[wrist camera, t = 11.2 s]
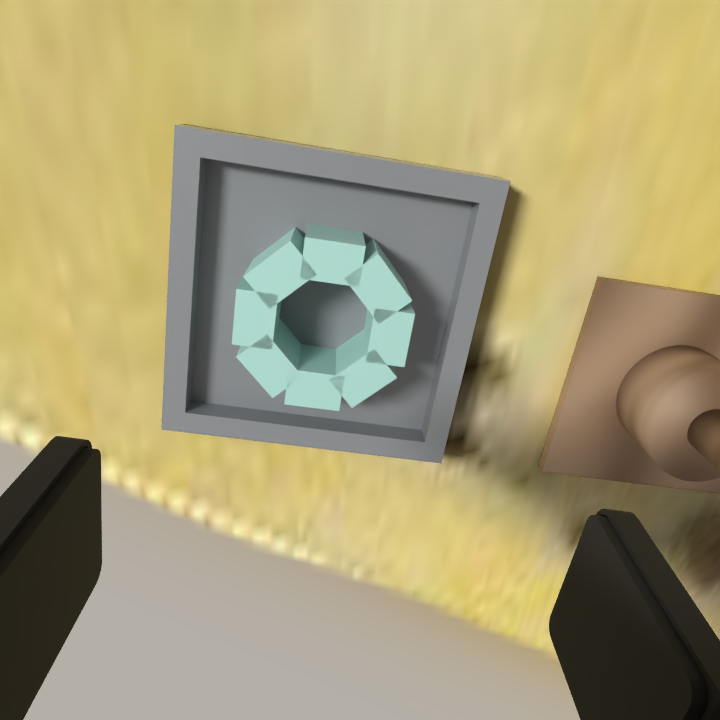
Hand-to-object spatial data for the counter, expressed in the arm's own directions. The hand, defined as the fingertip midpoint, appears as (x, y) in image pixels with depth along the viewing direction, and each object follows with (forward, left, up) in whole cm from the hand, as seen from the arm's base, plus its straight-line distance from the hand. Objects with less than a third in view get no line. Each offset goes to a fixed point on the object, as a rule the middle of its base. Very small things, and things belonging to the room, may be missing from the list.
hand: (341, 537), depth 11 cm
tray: (+1, 0, -17) cm, 17 cm away
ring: (+1, +1, -16) cm, 16 cm away
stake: (-16, +2, -17) cm, 24 cm away
